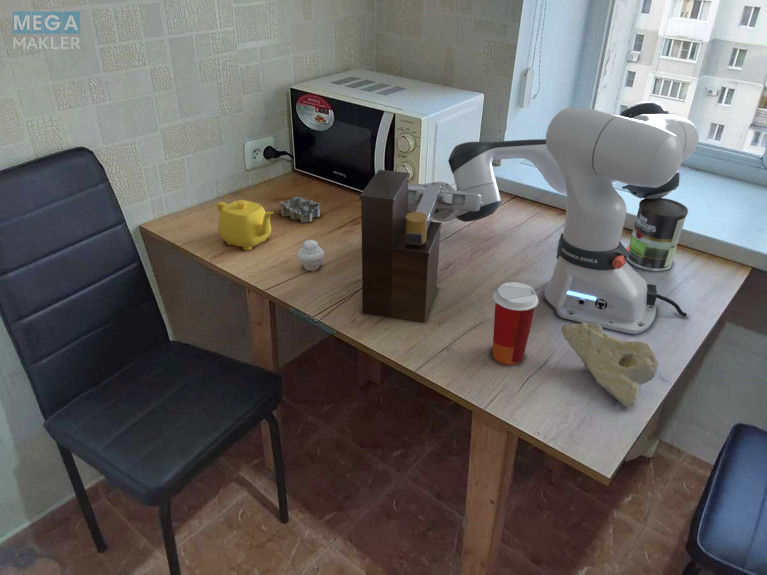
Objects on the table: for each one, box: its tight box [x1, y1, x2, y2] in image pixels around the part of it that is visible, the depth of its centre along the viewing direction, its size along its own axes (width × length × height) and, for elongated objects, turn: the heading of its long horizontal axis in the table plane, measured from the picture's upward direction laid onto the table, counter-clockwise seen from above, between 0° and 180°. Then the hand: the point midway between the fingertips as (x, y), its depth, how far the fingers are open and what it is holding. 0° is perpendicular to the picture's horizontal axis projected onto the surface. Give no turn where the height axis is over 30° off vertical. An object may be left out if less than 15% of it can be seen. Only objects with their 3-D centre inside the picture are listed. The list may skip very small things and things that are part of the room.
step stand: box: [359, 169, 443, 323], centre depth 122 cm, size 14×13×26 cm
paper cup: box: [492, 281, 539, 366], centre depth 110 cm, size 8×8×14 cm
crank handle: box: [406, 185, 441, 246], centre depth 123 cm, size 22×4×5 cm, turn 166°
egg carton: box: [277, 196, 323, 224], centre depth 164 cm, size 11×8×4 cm
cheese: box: [561, 322, 660, 408], centre depth 107 cm, size 15×7×15 cm
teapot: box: [216, 199, 275, 251], centre depth 149 cm, size 18×11×11 cm, turn 59°
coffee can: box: [626, 197, 689, 272], centre depth 141 cm, size 10×10×14 cm
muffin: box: [296, 239, 325, 272], centre depth 139 cm, size 6×6×7 cm
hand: (431, 196), depth 129 cm, fingers closed on crank handle, 3 cm apart
